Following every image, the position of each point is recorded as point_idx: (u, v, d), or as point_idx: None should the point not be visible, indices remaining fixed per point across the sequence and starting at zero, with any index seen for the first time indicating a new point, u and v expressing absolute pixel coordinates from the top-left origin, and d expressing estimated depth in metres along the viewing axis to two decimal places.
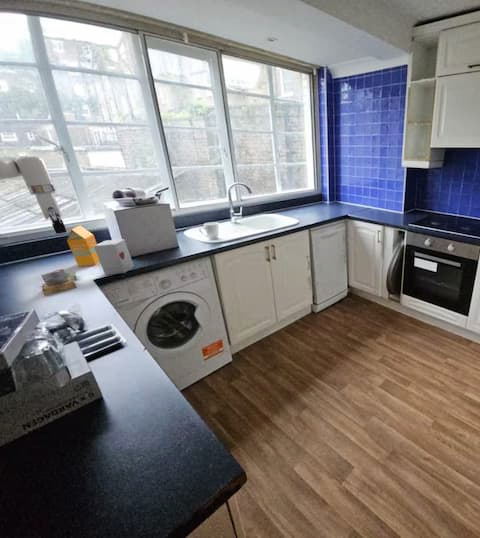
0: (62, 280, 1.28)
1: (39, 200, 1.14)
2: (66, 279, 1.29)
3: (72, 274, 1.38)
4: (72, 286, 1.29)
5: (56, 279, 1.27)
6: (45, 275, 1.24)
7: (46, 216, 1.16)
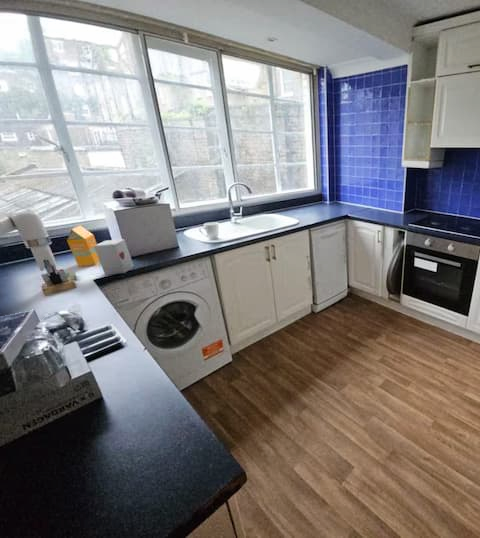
0: (62, 280, 1.28)
1: (34, 253, 1.18)
2: (66, 279, 1.29)
3: (72, 274, 1.38)
4: (72, 286, 1.29)
5: None
6: (45, 275, 1.24)
7: (41, 268, 1.20)
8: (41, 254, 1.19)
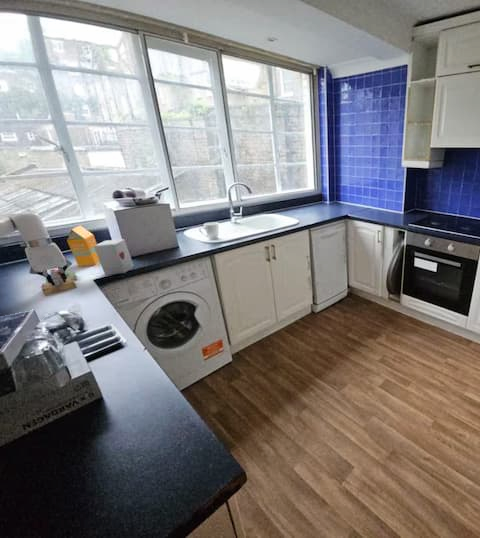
0: (59, 279, 1.29)
1: (57, 248, 1.24)
2: None
3: (72, 274, 1.38)
4: (72, 286, 1.29)
5: (58, 278, 1.28)
6: (55, 274, 1.25)
7: (65, 262, 1.26)
8: (59, 249, 1.25)
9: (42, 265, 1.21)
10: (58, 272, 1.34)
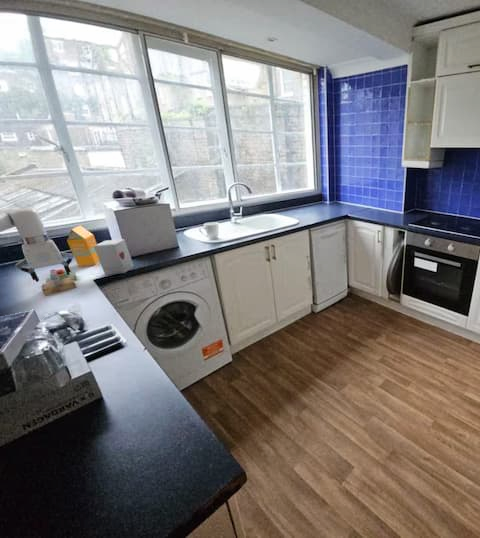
0: (59, 279, 1.29)
1: (55, 246, 1.23)
2: None
3: (72, 274, 1.38)
4: (72, 286, 1.29)
5: (58, 278, 1.28)
6: (55, 274, 1.25)
7: (62, 259, 1.26)
8: (56, 246, 1.25)
9: (38, 262, 1.20)
10: (58, 272, 1.34)
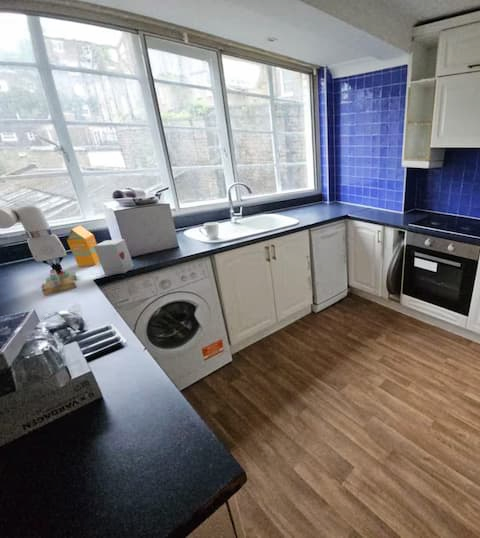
0: (59, 279, 1.29)
1: (58, 239, 1.31)
2: None
3: (72, 274, 1.38)
4: (72, 286, 1.29)
5: (58, 278, 1.28)
6: (55, 274, 1.25)
7: (65, 252, 1.33)
8: (59, 240, 1.32)
9: (43, 255, 1.28)
10: (59, 273, 1.34)
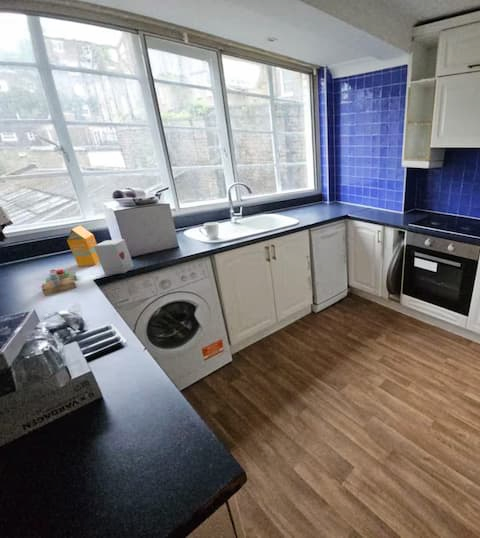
0: (59, 279, 1.29)
1: None
2: None
3: (72, 274, 1.38)
4: (72, 286, 1.29)
5: (58, 278, 1.28)
6: (55, 274, 1.25)
7: (8, 219, 1.17)
8: (1, 204, 1.16)
9: None
10: (58, 272, 1.34)
